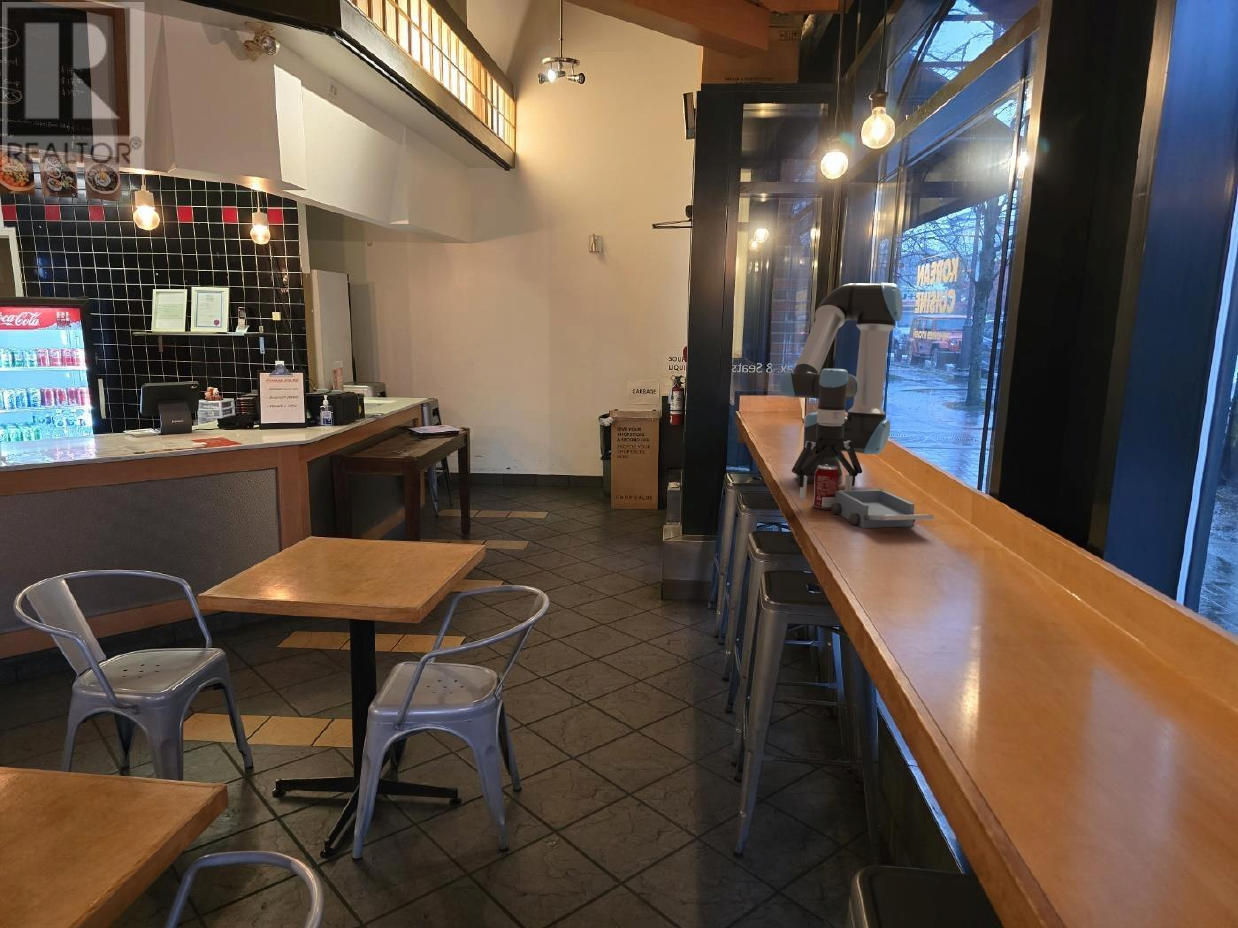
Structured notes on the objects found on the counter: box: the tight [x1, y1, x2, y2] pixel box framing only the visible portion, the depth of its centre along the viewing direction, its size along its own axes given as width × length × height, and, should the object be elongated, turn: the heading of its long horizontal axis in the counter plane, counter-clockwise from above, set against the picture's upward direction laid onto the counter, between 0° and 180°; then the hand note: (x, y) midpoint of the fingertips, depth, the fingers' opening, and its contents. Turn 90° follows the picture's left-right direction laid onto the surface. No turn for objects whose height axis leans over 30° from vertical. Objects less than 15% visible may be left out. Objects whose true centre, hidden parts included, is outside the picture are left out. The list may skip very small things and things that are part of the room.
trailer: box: [830, 488, 916, 529], centre depth 201 cm, size 17×17×6 cm
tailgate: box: [865, 513, 935, 520], centre depth 188 cm, size 1×14×10 cm
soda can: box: [812, 465, 840, 511], centre depth 211 cm, size 7×7×12 cm
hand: (825, 497), depth 212 cm, fingers open, 13 cm apart
